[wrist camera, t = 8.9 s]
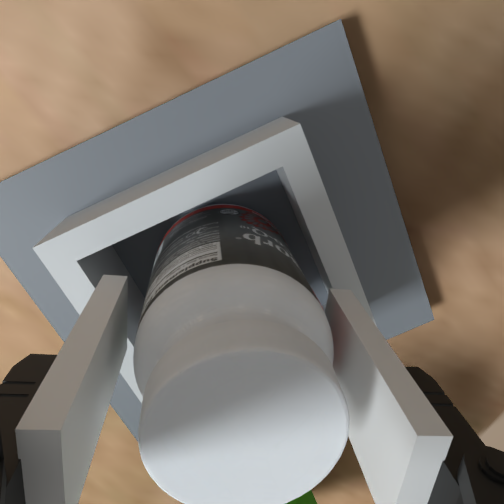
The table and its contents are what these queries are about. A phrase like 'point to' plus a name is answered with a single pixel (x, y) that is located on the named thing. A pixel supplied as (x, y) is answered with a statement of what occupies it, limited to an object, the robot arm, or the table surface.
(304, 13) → the table surface
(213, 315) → the pill bottle
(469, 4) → the table surface
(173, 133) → the socket
